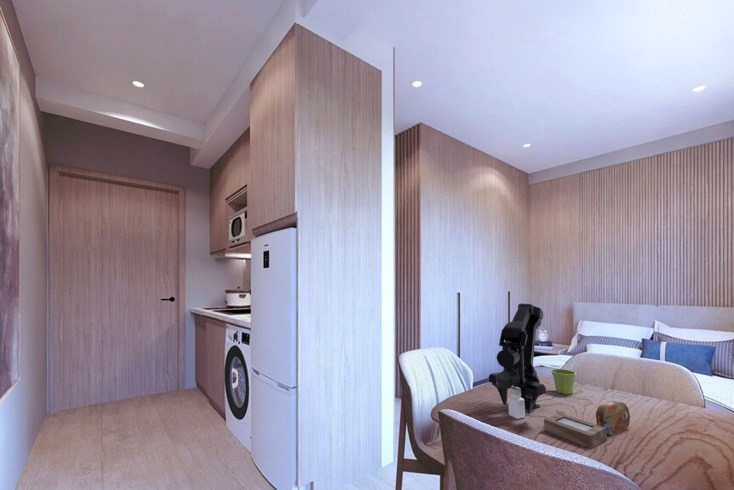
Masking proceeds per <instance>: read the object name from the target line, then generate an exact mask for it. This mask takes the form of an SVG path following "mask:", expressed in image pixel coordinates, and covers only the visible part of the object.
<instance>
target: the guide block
mask: <svg viewBox="0 0 734 490" xmlns="http://www.w3.org/2000/svg"><path fill="white" fill-rule="evenodd" d="M563 418H565V419H568V420H571V421H574V422H577V423H580V424H583V425H586V426H590V427H593V428H591V429H589V430H587V431H584V430H581V429H578V428H575V427H572V426H569V425H567V424H564V423H561V422H558V421H559V420H561V419H563ZM543 431H544V432H546V433H549V434H552V435H555V436H557V437H559V438H562V439H565V440H568V441H571V442H573V443H574V444H575V443H576V444H577V445H578V444H579V445H581V446H584V447H585V448H589V449H594V448H595V447H597V446H598V445H601V444H603V443H605V442H606V441H607V440H608V434H607V430H606V428H605V427H602V426H599V425H597V423H596V424H595V423H592V422H589V421H586V420H583V419H580V418H577V417H573V416H571V415H567V414H564V413H562V412H559V413H556V414H554V415H551V416H549V417H546V418H544V419H543Z"/></svg>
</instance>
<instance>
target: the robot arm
mask: <svg viewBox="0 0 734 490" xmlns="http://www.w3.org/2000/svg"><path fill="white" fill-rule="evenodd" d="M543 319H544V311H543V310H542V308H540V307H537V306H535V305H533V304H531V303H518V305H517V310H516V311H515V314H514V316H513V317H512V321H510V322H507V323H506V324H505V325H504V326H503V328H502V329H501V333H500V338H499V343H498V346H499V347H501V349H502V350H500V351H498V353H497V354H496V355H497V356H496V361H497V364H498V365H500V366H501V367H502V368H503V371H500V372H498V371H497V372H494V373H490V374H489V375H488V383H491V385H492V386H494V387H495V388H496V389H497V392H498V394H499V396H500V399H501V402H502V403H503V406H506V405H507V404H508V402H507V401H508V390H511V387H518V388H520V389H521V398H523V399H524V404H525V409H526V410H527V414H531V413H532V410H535V409H537V408H540V407H541V405H540V404H538V403H537V400H538V398H539V397H540V396H542V395H545V394H547V388H546V386H545V385H544V384H543V383H541V382H540V379H539V376H538V373H537V370H536V368H535V367H534V357H535V345H536V334H537V329H538V328H540V326H541V325H542V320H543Z"/></svg>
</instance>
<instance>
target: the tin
mask: <svg viewBox="0 0 734 490" xmlns="http://www.w3.org/2000/svg"><path fill="white" fill-rule="evenodd" d="M630 417H631V416H630V411H629V407H628V406H627V404H626V403H624V402H623V401H621V402H619V401H615V400H614V401H610V402H606V403H603V404H600V405H599V406H598V407H597V409H596V412H595V419H596V425H599V426H602V427H605V428H606V430H607V435H609V436H614V435H617V434H619V433H621V432H625V431H626V430H628V428H629V426H630V421H631V419H630Z"/></svg>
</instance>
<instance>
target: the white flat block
mask: <svg viewBox="0 0 734 490" xmlns="http://www.w3.org/2000/svg"><path fill="white" fill-rule="evenodd" d="M558 422H561V423H564V424H567V425H569V426H572V427H575V428H578V429H581V430H584V431H587V430H589V429H591V428H593V427H590V426H586V425H583V424H580V423H577V422H574V421H571V420H568V419H565V418H563V419H561V420H559V421H558Z"/></svg>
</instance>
